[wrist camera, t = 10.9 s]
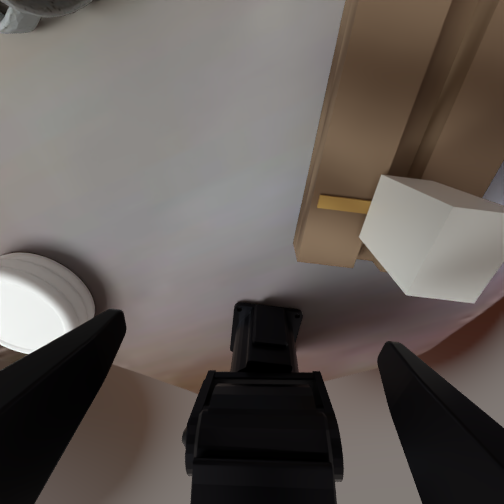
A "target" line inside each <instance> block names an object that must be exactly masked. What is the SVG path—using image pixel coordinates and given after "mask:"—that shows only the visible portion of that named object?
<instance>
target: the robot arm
mask: <svg viewBox="0 0 504 504" xmlns="http://www.w3.org/2000/svg"><path fill="white" fill-rule="evenodd" d="M238 307H240V308H241V309H239V308H238ZM296 314H299V315H296ZM302 317H303V315H302V311H301V310H298V309H290V308H282V307H273V306H265V305H256V304H248V303H236V304H235V307H234V315H233V325H232V335H231V345H230V350H231V351H232V352H233V356H232V363H231V371H230V372H216V370H209V371H208V373H207V376H206V379H205V380H204V381H203V384H202V386H201V389H200V392H199V394H198V397H197V399H196V402H195V405H194V407H193V410H192V413H191V415H190V418H189V420H188V423H187V427H186V428H185V430H184V432H183V436H182V442H183V444H184V446H185V447H186V453H185V465H186V472H187V474H188V476H192V489H191V504H337V501H336V490H335V482H336V481H337V482H341V481H342V480H343V469H344V468H343V453H342V445H341V439H340V433H339V428H338V424H337V420H336V417H335V413H334V411H333V408H332V405H331V402H330V399H329V396H328V393H327V390H326V387H325V384H324V381H323V379H322V376H321V373H320V371H313V373H304V372H299V371H298V363H297V356H296V349H295V342H296V338H297V335H298V331H299V328H300V324H301V321H302ZM125 333H126V323H125V317H124V313H123V311H122V310H117V309H108V310H106V311H104V312H103V313H101V314H99V315H97V316H96V317H94V318H92V319H90V320H88V321H87V322H85V323H83V324H81V325H80V326H78V327H76V328H74V329H73V330H71V331H69V332H67V333H66V334H64V335H62V336H60V337H58V338H57V339H55V340H53V341H51V342H50V343H48V344H46V345H44V346H43V347H41V348H39V349H37V350H35V351H34V352H32V353H30V354H28V355H27V356H25V357H23V358H21V359H20V360H18V361H16V362H14V363H13V364H11V365H9V366H7V367H5V368H4V369H2V370H0V504H35V502H36V500H37V498H38V497H39V495H40V493H41V491H42V490H43V488H44V486H45V484H46V483H47V481H48V479H49V477H50V475H51V473H52V472H53V470H54V468H55V467H56V465H57V463H58V461H59V460H60V458H61V456H62V454H63V453H64V451H65V449H66V447H67V446H68V444H69V442H70V440H71V439H72V437H73V435H74V433H75V432H76V430H77V428H78V426H79V425H80V422H81V421H82V419H83V417H84V416H85V414H86V412H87V410H88V409H89V407H90V405H91V403H92V402H93V400H94V398H95V396H96V395H97V393H98V391H99V389H100V388H101V386H102V384H103V382H104V380H105V378H106V376H107V374H108V372H109V370H110V367H111V365H112V363H113V361H114V359H115V356H116V354H117V352H118V350H119V347H120V345H121V343H122V341H123V338H124V336H125ZM377 362H378V367H379V371H380V375H381V379H382V383H383V387H384V391H385V395H386V399H387V403H388V406H389V410H390V413H391V416H392V419H393V422H394V425H395V427H396V430H397V433H398V436H399V439H400V442H401V445H402V447H403V450H404V453H405V456H406V459H407V462H408V464H409V467H410V470H411V473H412V475H413V478H414V481H415V484H416V487H417V490H418V493H419V495H420V498H421V501H422V504H504V428H503V427H502V426H501V425H499V424H498V423H497V422H496V421H495V420H493V419H492V418H491V417H490V416H489V415H487V414H486V413H485V412H484V411H482V410H481V409H480V408H479V407H478V406H476V405H475V404H474V403H473V402H471V401H470V400H469V399H468V398H467V397H466V396H464V395H463V394H462V393H461V392H459V391H458V390H457V389H456V388H455V387H453V386H452V385H451V384H450V383H448V382H447V381H446V380H445V379H444V378H442V377H441V376H440V375H439V374H438V373H436V372H435V371H434V370H433V369H432V368H430V367H429V366H428V365H427V364H426V363H424V362H423V361H422V360H421V359H420V358H418V357H417V356H416V355H415V354H413V353H412V352H411V351H410V350H409V349H407V348H406V347H405V346H404V345H403V344H401V343H399V342H391V341H388V342H386V343H385V345H384V346H383V348H382V350H381V352H380V354H379V356H378V360H377Z"/></svg>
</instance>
